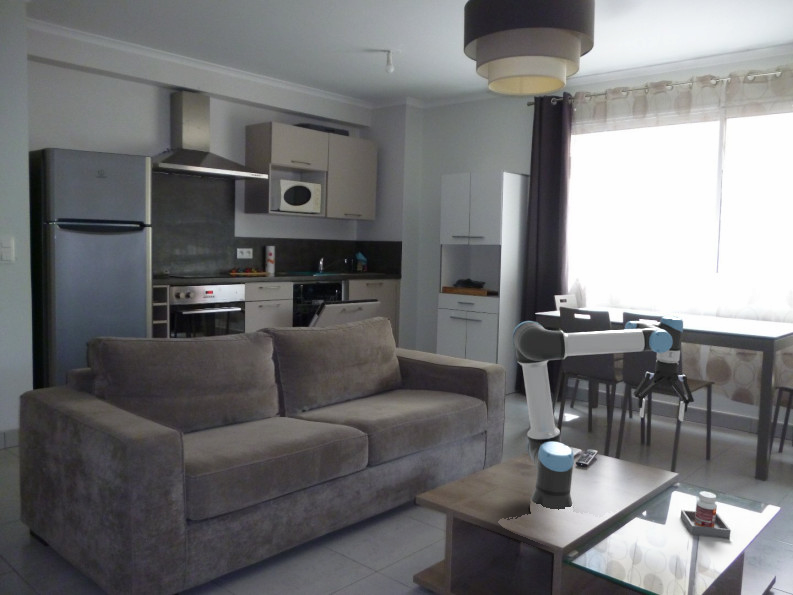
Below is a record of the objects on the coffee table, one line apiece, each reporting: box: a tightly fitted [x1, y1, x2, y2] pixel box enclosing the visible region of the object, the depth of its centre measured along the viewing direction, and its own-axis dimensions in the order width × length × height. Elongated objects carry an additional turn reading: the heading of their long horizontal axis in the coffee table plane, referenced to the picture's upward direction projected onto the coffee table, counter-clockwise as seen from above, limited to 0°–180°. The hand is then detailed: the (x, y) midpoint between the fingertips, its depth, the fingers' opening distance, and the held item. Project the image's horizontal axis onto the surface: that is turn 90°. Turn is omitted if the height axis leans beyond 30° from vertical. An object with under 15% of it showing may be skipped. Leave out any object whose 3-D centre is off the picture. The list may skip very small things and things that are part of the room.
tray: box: [679, 509, 732, 540], centre depth 221 cm, size 12×12×3 cm
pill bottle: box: [694, 490, 718, 528], centre depth 220 cm, size 6×6×11 cm
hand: (660, 418), depth 235 cm, fingers open, 13 cm apart
